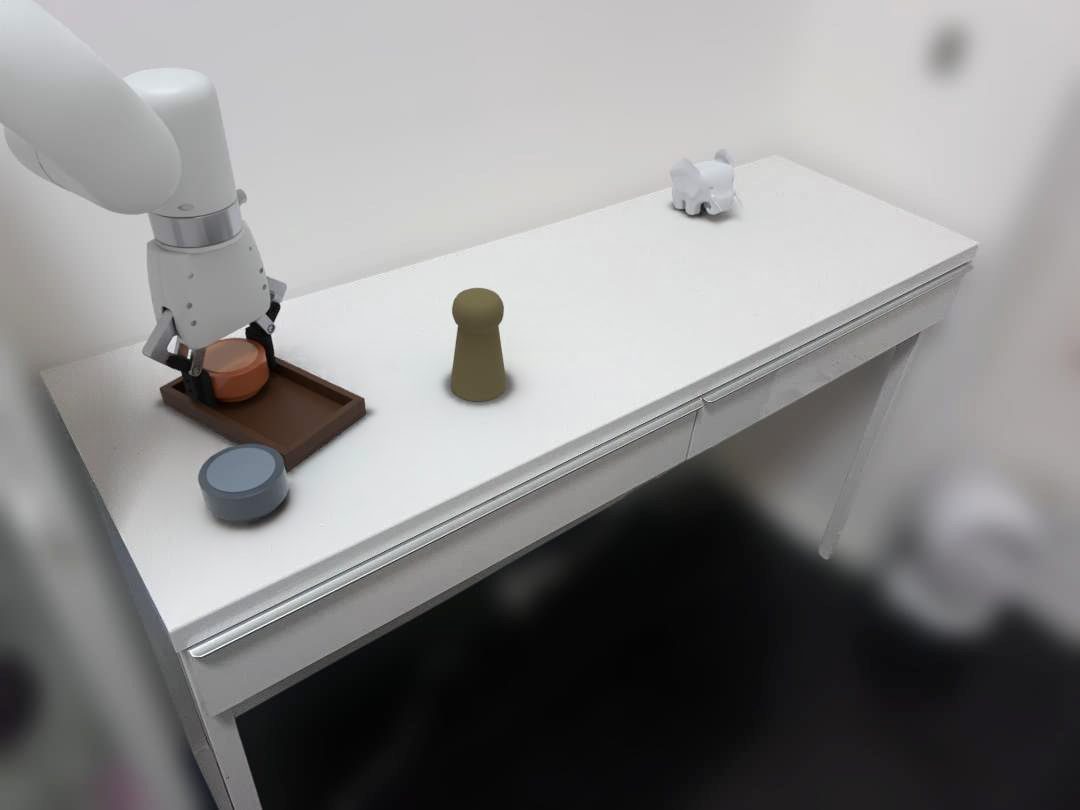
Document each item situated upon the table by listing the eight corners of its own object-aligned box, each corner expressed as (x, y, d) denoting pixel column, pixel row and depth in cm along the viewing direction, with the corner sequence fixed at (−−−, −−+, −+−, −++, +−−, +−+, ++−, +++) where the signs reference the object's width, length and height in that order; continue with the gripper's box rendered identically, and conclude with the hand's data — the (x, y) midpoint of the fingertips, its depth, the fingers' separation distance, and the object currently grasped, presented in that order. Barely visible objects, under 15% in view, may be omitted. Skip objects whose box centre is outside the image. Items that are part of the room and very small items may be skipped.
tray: (287, 471, 74) (284, 455, 73) (163, 403, 82) (158, 387, 80) (366, 413, 82) (364, 398, 80) (246, 356, 89) (242, 340, 88)
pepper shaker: (493, 363, 90) (493, 275, 83) (515, 393, 85) (518, 303, 79) (441, 375, 87) (438, 286, 81) (462, 407, 83) (460, 315, 76)
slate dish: (245, 543, 67) (236, 509, 65) (190, 508, 70) (179, 475, 68) (307, 495, 72) (301, 462, 70) (252, 464, 75) (245, 432, 73)
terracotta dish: (232, 416, 79) (224, 384, 76) (184, 391, 82) (175, 360, 79) (285, 382, 84) (280, 351, 81) (239, 360, 86) (232, 329, 84)
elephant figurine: (707, 232, 119) (717, 174, 113) (651, 203, 126) (659, 147, 121) (751, 218, 123) (763, 161, 118) (695, 190, 131) (704, 136, 125)
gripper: (244, 179, 79) (273, 333, 90) (79, 243, 67) (136, 411, 78) (300, 199, 76) (323, 355, 87) (137, 269, 64) (187, 440, 75)
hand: (234, 380), depth 82 cm, fingers closed on terracotta dish, 7 cm apart
